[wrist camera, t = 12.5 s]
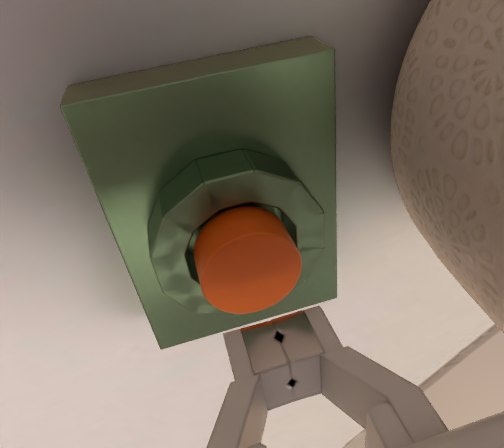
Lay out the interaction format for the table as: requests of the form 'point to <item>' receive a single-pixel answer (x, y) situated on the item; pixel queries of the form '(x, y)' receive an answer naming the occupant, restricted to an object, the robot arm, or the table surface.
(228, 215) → the switch
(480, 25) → the planter
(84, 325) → the table surface
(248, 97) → the push button box
